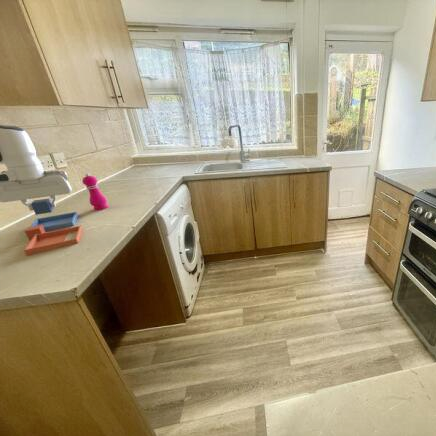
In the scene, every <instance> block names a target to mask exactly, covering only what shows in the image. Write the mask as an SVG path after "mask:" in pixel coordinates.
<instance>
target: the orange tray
mask: <svg viewBox="0 0 436 436" xmlns="http://www.w3.org/2000/svg"><path fill="white" fill-rule="evenodd" d="M74 232H76V234H75V237H74V238H72V239H67V237H68V235H69V234H70V233H74ZM82 232H83V227H82V225H76V226H70V227H66V228H61V229H57V230H52V231H48V232H46V233H41V234H36V235H34V237H33V238H32V239H31V240H29V242H28V243H27V245H26V246H25V248H24V249H23V252H24V254H25V256H26V257H28V256H32V255H36V254H39V253H44V252H48V251H52V250H56V249H60V248H65V247H67V246H68V247H69V246H71V245H75V244H78V243H79V241H80V239H81V236H82ZM66 239H67V240H66Z"/></svg>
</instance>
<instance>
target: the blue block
mask: <svg viewBox="0 0 436 436" xmlns="http://www.w3.org/2000/svg"><path fill="white" fill-rule="evenodd" d="M50 202H52V200H51V198H50V197H49V198H41V199H35V200H33V201H31V202H30V204H31V205H32V207H33V210H32V211H33V212H34V214H35V216H37V215H45V214H49V213H50V214H51V213H52V212H53V211H54V210H55V207H50V204H49V203H50Z"/></svg>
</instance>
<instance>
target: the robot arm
mask: <svg viewBox="0 0 436 436" xmlns="http://www.w3.org/2000/svg"><path fill="white" fill-rule="evenodd" d="M2 164H3V165H5V167H6V170H3V171H1V172H0V203H9V202H16V201H17V202H18V201H20V202H21V204H22V205H24V206H25V207H27V208H28V210H29V211H34V210H33V207H32V205H31V202H29V200H31V199H39V198H47V197H49V198H50V200H51V199H52V200H51V202H50V203H49V204H50V207H54V208H56V207H57V204H56V203H57V202H56V200H57V198H58V197H57V196H61V195H70V194H71V193H72V191H73V188H72V186H71V183H70V182H69V177H68V174H67V173H66V172H65V171H64V170H60V169H56V170H45V169H44V167H43V164H42V161H41V160H39V158H38V155H37V150H36V147H35V145H34V143H33V141H32V139H31V137H30V136H29V134H28V133H27V132H26V131H25V129H23V128H22V127H19V126H15V125H5V124H0V165H2Z"/></svg>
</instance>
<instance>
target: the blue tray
mask: <svg viewBox="0 0 436 436" xmlns="http://www.w3.org/2000/svg"><path fill="white" fill-rule="evenodd" d="M78 218H79V214H78V212H77V211H74V212H67V213H63V214H56V215H51V216H46V217H40V218H36V219H35V220H34V222H32V224H31V225H30V226H29V227H32V226H37V225H42V226H43V228H44V230H45V232H51V231H56V230H61V229H66V228H71V227H75V224H76V223H75V222H77V220H78Z"/></svg>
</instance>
